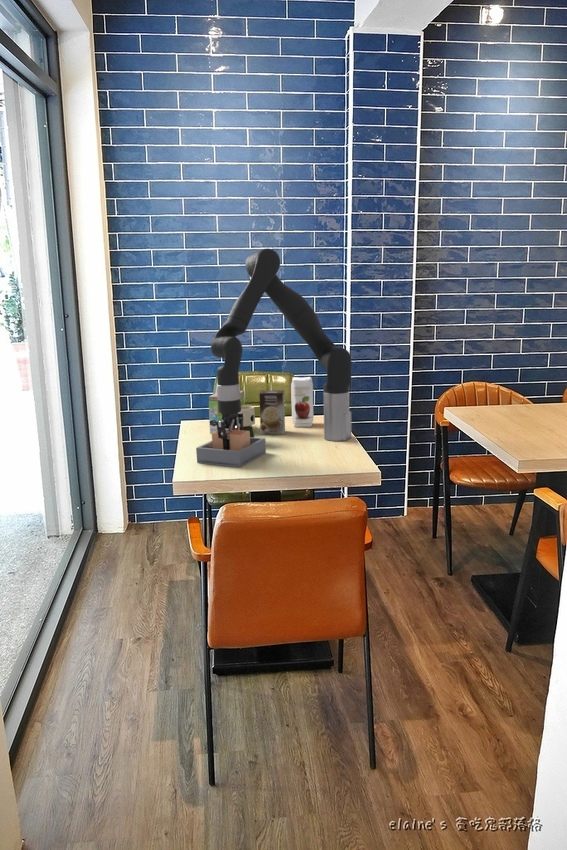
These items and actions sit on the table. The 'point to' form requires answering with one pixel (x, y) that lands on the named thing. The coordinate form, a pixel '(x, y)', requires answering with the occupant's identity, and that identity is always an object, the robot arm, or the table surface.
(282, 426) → the coffee box
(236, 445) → the terracotta crate
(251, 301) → the robot arm
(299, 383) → the juice carton
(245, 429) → the character mug
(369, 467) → the table surface
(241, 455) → the charcoal crate
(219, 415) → the tea box
